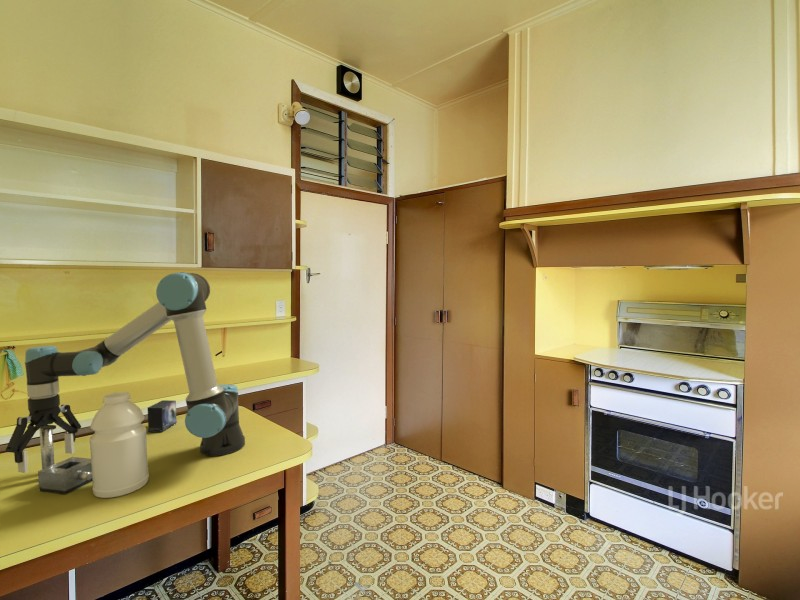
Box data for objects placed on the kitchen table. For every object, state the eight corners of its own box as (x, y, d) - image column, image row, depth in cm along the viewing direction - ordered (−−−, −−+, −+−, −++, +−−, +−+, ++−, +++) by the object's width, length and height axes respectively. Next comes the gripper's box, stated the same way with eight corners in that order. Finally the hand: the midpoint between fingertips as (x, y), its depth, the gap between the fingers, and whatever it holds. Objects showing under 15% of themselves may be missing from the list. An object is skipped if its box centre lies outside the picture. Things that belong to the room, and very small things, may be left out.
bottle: (86, 503, 112) (79, 404, 111) (100, 481, 125) (94, 392, 123) (145, 492, 118) (139, 397, 116) (152, 471, 130) (148, 386, 129)
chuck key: (62, 476, 128) (59, 424, 127) (52, 481, 125) (49, 427, 125) (45, 474, 130) (42, 422, 129) (35, 479, 127) (31, 426, 126)
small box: (163, 432, 165) (161, 407, 164) (147, 432, 165) (146, 407, 164) (177, 423, 175) (176, 399, 175) (163, 423, 175) (161, 400, 175)
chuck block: (104, 478, 126) (103, 459, 126) (72, 495, 117) (70, 475, 116) (73, 475, 129) (72, 456, 129) (39, 491, 119) (37, 471, 119)
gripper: (74, 385, 139) (78, 445, 140) (-14, 407, 115) (-10, 479, 116) (91, 386, 138) (95, 446, 139) (5, 408, 113) (10, 482, 114)
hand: (47, 462), depth 127 cm, fingers open, 13 cm apart
